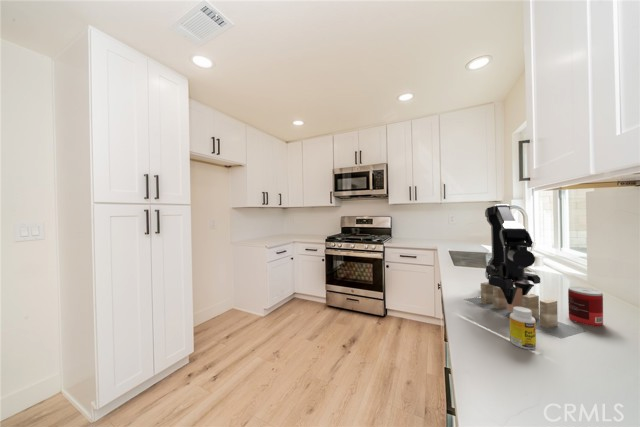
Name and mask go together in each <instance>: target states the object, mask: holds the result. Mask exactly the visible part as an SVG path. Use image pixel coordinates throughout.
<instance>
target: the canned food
mask: <svg viewBox="0 0 640 427" xmlns="http://www.w3.org/2000/svg"><path fill="white" fill-rule="evenodd" d="M567 288H568V289H567V290H568V291H567V298H568V308H567V309H568V318H569V319H570V320H571V321H573V322H575V323H578V324H582V325H584V326H590V327H602V326H603V325H604V297H603V296H604V294H603V292H602V291H600V290H597V289H594V288H589V287H584V286H569V287H567Z"/></svg>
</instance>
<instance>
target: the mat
mask: <svg viewBox="0 0 640 427" xmlns="http://www.w3.org/2000/svg"><path fill="white" fill-rule="evenodd" d="M477 297H478V296H475V297H468V298H464V299H463V301H467V302H469V303H472V304H475V305H476V306H479V307H481V308H484V309H486V310H489V311H492V312H494V313H496V314H499V315H502V316H504V317H506V318H509V319H510V314H511V313H513V312H511V311H508V310H507V308H503V309H496V308H494V307H493V303H491V304H483V303H481V298H477ZM535 321H536V329H537V330H539V331H542V332H544V333H546V334H549V335H552V336H554V337H556V338H559V339H564V338H567V337H570V336H571V337H572V336H573V335H574V336H575V335H578V334H581V333H584V332H586V330H584V329H580V328H578V327H574V326H572V325H569V324H566V323H563V322H561V321H558V326H554V327H550V328H546V327H543V326H541V325H540V314H539V319H536V320H535Z"/></svg>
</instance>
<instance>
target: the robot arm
mask: <svg viewBox="0 0 640 427" xmlns="http://www.w3.org/2000/svg"><path fill="white" fill-rule="evenodd" d="M484 211H485V212H484V217H485V218H486V221H487V223H488V224H489V225H490V230H491V231H490V233H491V234H490V236H491V258H490V259H489V260H488V262H487V265H486V267H485V272H484V276H485V278H486V279H487V280H488V281H487V282H489V284H490V285H493V286H494V287H496V286H497V287H500V288H501V289H502V291H503V293H504V296H505V298H506V301H507V303H508V304H510V305H511V304H512V302H513V300H514V297H515V294H516V291H517V288H516V287H518V288H522V296H523V295H529V294H528V293H529V292H530V291H531V290H532V288H533V287H534V286H535V285H537V284H541V277H540V276H539V275H537V274H535V273H529V272H525V269H528V268H529V267H531V266H533V265H534V264H535V261H536V257H535V255H534V253H533V252H532V251H530V250H528V248H533V243H534V242H533V239H532V237H531V235H530V233H529V230H527V229H526V228H525V227H524V225H523V224H521V223H519V222H517V221H516V219H515V217H514V215H513V213H512V211H511V207H510V205H509V204H506V203H505V204H504V203H503V204H502V203H501V204H495V205H493V206H489V207H486V209H485V210H484ZM530 282H532V283H533V284H532V283H530Z"/></svg>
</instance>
